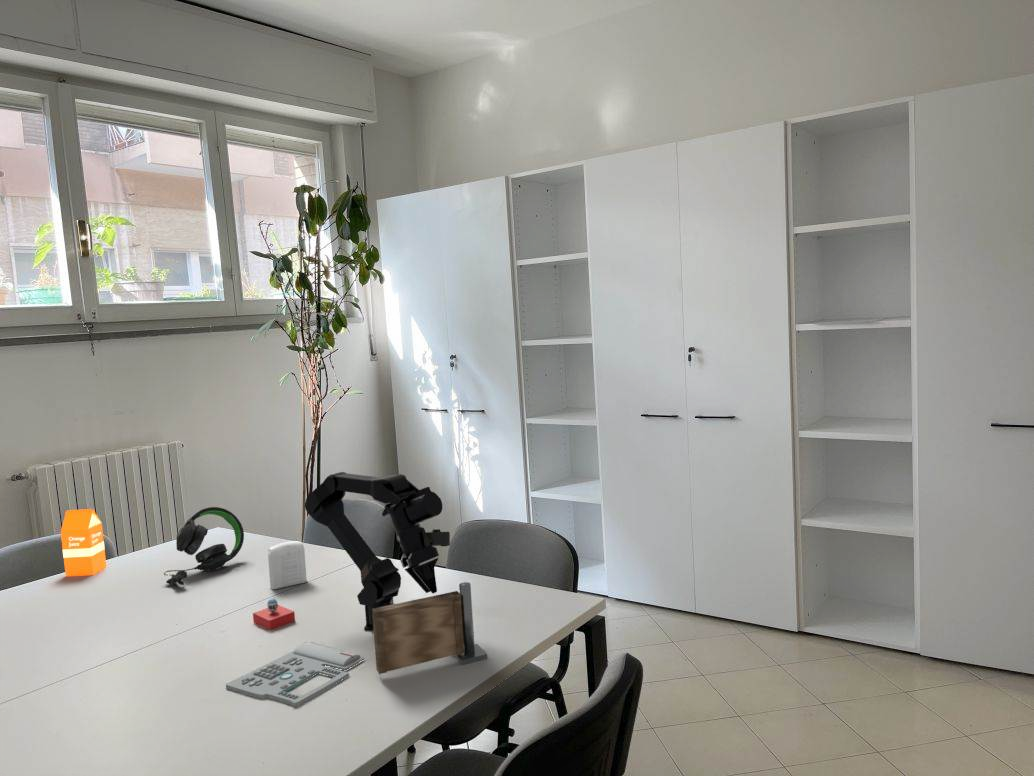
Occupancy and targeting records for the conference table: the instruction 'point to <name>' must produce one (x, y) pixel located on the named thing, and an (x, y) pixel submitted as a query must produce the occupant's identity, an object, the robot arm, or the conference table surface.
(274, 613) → the joystick
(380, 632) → the gate
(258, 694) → the office telephone
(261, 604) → the conference table surface
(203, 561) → the headset
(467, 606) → the gate post
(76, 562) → the orange juice
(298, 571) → the white tombstone
